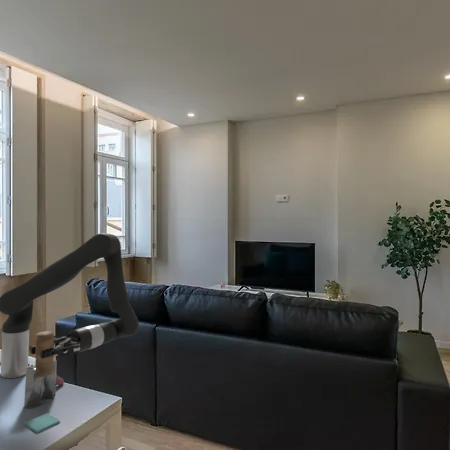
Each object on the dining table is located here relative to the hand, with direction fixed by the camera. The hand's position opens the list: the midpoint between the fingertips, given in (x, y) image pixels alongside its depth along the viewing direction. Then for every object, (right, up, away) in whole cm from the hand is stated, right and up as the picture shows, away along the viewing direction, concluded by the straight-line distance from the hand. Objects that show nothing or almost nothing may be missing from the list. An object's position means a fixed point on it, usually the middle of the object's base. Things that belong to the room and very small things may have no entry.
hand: (36, 352), depth 108 cm
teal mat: (0, -22, +3) cm, 22 cm away
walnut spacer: (+1, -7, +2) cm, 7 cm away
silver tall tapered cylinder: (-8, -22, +13) cm, 27 cm away
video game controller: (-10, -22, +28) cm, 37 cm away
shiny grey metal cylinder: (-6, -22, +20) cm, 30 cm away
